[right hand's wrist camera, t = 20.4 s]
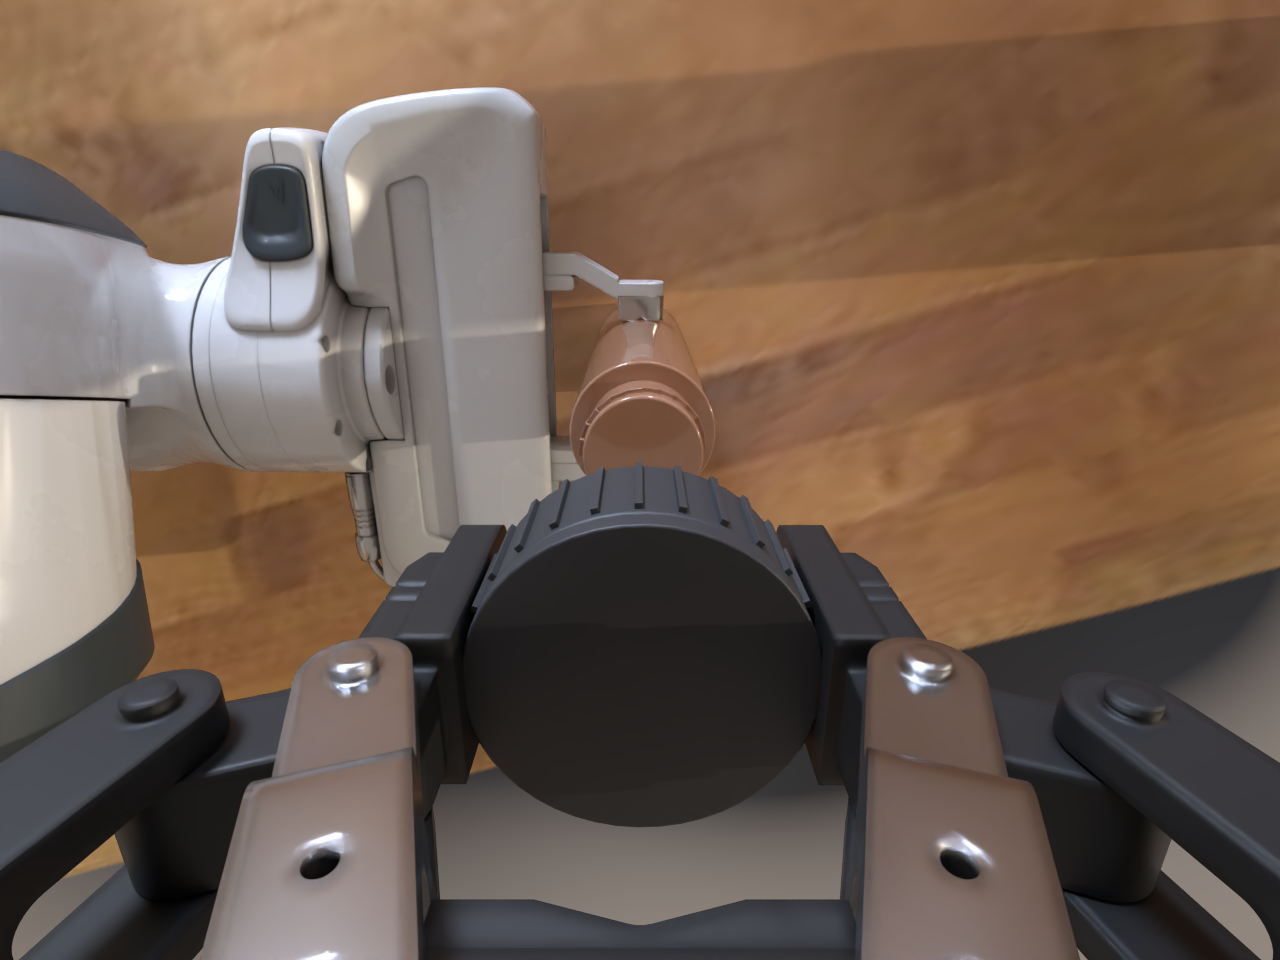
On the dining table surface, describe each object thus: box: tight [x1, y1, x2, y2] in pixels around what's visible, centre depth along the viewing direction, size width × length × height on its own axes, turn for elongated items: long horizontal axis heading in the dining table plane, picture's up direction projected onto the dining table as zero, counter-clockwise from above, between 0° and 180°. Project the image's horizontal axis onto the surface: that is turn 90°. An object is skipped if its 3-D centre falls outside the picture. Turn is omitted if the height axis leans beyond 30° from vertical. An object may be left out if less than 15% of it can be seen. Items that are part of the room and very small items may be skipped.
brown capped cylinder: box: [569, 308, 716, 476], centre depth 26 cm, size 4×4×18 cm
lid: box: [463, 462, 822, 827], centre depth 10 cm, size 5×5×2 cm
